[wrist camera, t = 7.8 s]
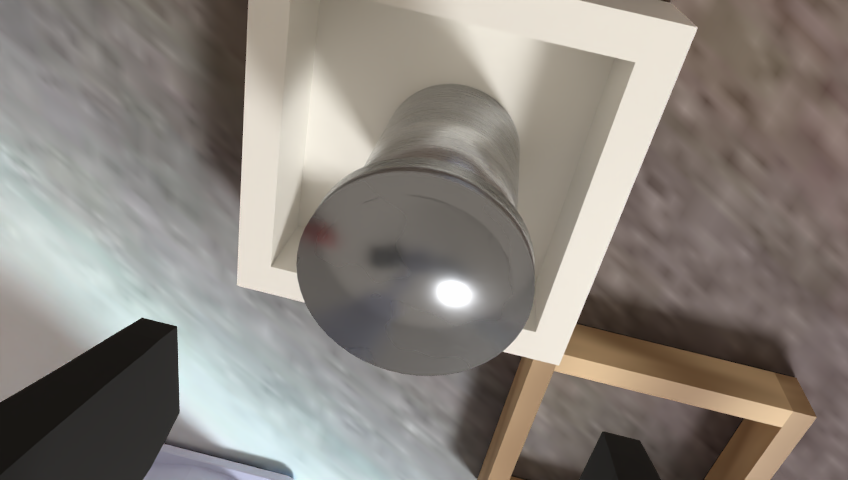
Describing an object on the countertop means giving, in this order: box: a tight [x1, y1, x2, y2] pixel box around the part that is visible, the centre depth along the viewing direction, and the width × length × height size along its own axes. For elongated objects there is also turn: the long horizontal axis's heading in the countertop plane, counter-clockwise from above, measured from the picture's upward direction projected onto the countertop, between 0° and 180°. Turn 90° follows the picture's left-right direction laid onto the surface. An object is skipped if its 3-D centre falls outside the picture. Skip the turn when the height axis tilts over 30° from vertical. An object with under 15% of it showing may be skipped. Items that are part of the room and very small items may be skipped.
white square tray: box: [237, 0, 698, 365], centre depth 18 cm, size 10×10×3 cm
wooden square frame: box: [477, 324, 817, 480], centre depth 23 cm, size 9×9×2 cm
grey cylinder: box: [296, 84, 535, 376], centre depth 15 cm, size 5×5×7 cm
